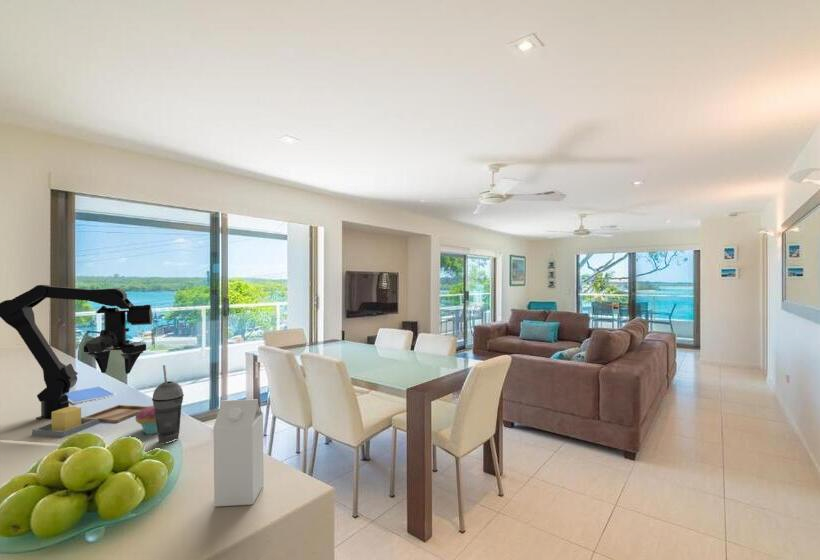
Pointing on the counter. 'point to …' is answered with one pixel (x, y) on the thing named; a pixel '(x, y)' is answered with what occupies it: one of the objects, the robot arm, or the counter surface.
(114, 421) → the tray
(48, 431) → the dish
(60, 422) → the block
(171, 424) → the beverage cup
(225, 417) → the milk carton
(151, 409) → the cupcake
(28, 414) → the counter surface
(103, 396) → the tablet computer
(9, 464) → the counter surface
